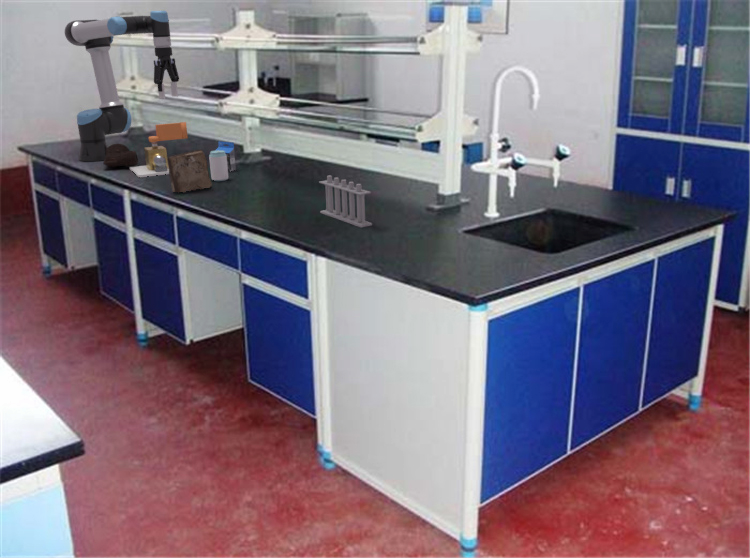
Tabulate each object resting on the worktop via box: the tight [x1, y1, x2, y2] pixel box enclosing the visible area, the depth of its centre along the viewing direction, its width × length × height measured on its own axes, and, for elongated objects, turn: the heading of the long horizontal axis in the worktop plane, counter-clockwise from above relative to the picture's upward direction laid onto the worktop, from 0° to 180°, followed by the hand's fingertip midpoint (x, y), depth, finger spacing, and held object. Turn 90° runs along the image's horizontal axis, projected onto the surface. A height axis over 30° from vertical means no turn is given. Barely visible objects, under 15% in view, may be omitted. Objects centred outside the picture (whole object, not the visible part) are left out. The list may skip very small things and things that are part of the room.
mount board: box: [129, 164, 170, 178], centre depth 346 cm, size 22×21×1 cm
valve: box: [143, 142, 168, 172], centre depth 345 cm, size 20×8×12 cm, turn 27°
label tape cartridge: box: [215, 141, 237, 173], centre depth 341 cm, size 9×4×12 cm, turn 62°
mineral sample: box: [167, 149, 213, 194], centre depth 304 cm, size 17×4×15 cm, turn 126°
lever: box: [148, 121, 189, 143], centre depth 345 cm, size 17×4×7 cm, turn 117°
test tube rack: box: [318, 175, 373, 228], centre depth 256 cm, size 25×4×13 cm, turn 35°
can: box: [208, 149, 229, 182], centre depth 322 cm, size 7×7×12 cm
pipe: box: [102, 143, 139, 168], centre depth 356 cm, size 10×15×15 cm
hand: (168, 97), depth 356 cm, fingers open, 10 cm apart
